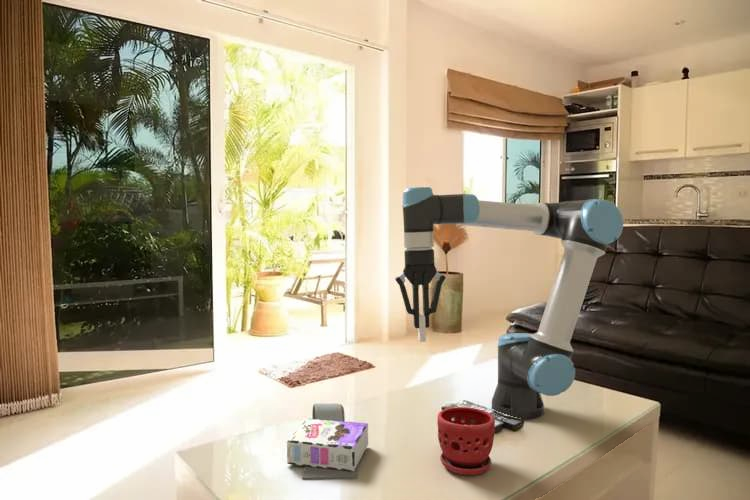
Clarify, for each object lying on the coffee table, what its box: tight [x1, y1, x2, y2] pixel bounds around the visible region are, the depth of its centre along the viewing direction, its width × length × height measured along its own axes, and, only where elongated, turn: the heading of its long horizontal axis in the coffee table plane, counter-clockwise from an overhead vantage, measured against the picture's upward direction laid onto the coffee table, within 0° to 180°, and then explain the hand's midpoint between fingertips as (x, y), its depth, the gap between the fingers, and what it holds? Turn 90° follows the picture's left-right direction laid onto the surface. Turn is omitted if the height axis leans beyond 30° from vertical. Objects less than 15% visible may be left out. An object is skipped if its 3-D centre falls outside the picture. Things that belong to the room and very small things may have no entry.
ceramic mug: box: [311, 403, 346, 422], centre depth 138 cm, size 11×8×8 cm
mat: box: [301, 466, 358, 480], centre depth 119 cm, size 12×16×1 cm
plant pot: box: [436, 406, 496, 476], centre depth 117 cm, size 13×13×12 cm
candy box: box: [286, 418, 369, 471], centre depth 121 cm, size 14×6×16 cm
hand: (422, 340), depth 129 cm, fingers closed
